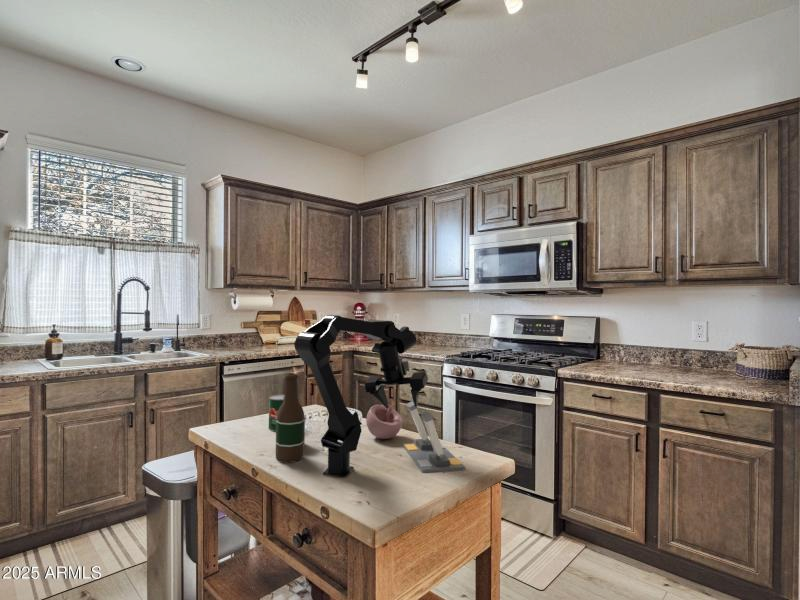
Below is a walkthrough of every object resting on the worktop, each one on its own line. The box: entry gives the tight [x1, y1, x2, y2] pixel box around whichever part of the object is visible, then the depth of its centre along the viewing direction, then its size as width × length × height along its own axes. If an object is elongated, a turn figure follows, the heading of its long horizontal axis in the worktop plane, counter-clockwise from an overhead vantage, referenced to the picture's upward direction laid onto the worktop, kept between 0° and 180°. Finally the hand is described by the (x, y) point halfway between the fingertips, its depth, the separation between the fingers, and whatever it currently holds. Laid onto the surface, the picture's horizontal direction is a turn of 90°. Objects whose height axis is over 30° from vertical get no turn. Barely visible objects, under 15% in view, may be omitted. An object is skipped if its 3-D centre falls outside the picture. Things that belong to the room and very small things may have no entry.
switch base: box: [402, 438, 466, 473], centre depth 132 cm, size 12×22×2 cm, turn 13°
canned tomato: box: [268, 394, 284, 432], centre depth 158 cm, size 8×8×11 cm
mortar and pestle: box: [366, 403, 404, 440], centre depth 149 cm, size 12×12×12 cm
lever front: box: [420, 411, 444, 459], centre depth 125 cm, size 2×4×12 cm, turn 13°
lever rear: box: [405, 400, 430, 443], centre depth 138 cm, size 2×4×12 cm, turn 13°
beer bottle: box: [275, 372, 305, 464], centre depth 128 cm, size 8×8×24 cm
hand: (402, 407), depth 137 cm, fingers open, 9 cm apart
